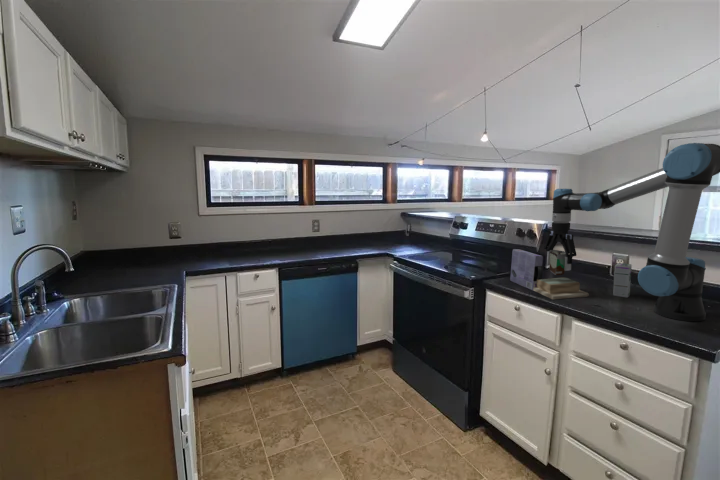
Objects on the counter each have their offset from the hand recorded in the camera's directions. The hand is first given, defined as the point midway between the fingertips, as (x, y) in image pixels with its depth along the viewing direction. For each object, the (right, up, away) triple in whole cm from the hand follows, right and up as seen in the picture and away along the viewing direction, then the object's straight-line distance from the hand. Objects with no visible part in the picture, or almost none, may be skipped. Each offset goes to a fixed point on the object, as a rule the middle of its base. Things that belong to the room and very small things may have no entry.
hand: (558, 267), depth 169 cm
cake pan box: (-9, -11, +14) cm, 20 cm away
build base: (0, -12, +2) cm, 12 cm away
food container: (0, -3, -1) cm, 3 cm away
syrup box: (+26, -13, -6) cm, 29 cm away
